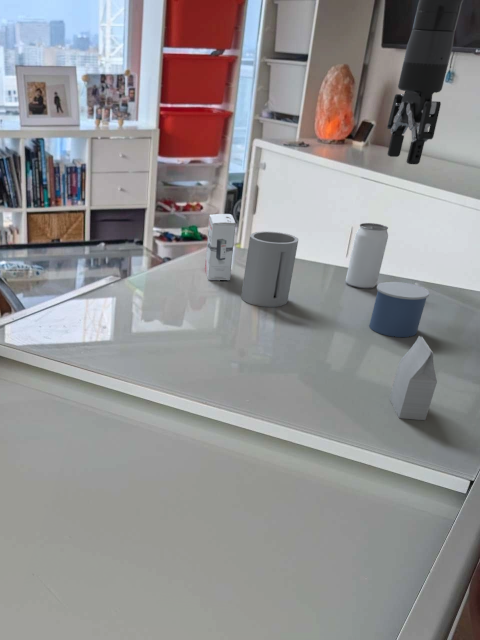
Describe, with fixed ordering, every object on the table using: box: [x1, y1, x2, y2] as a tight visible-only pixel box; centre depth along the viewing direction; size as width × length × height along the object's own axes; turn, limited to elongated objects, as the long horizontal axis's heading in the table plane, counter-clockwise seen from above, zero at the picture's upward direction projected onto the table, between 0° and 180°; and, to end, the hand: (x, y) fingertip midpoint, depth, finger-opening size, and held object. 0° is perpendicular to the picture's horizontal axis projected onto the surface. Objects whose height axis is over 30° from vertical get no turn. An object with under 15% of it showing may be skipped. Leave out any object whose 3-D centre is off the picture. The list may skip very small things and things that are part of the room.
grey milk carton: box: [388, 335, 438, 421], centre depth 109 cm, size 4×7×10 cm, turn 173°
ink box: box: [204, 213, 237, 281], centre depth 161 cm, size 9×5×12 cm, turn 178°
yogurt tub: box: [368, 281, 430, 338], centre depth 138 cm, size 9×9×7 cm
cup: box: [240, 231, 299, 308], centre depth 149 cm, size 9×9×12 cm
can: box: [345, 222, 389, 290], centre depth 159 cm, size 6×6×12 cm
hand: (402, 160), depth 143 cm, fingers open, 8 cm apart
